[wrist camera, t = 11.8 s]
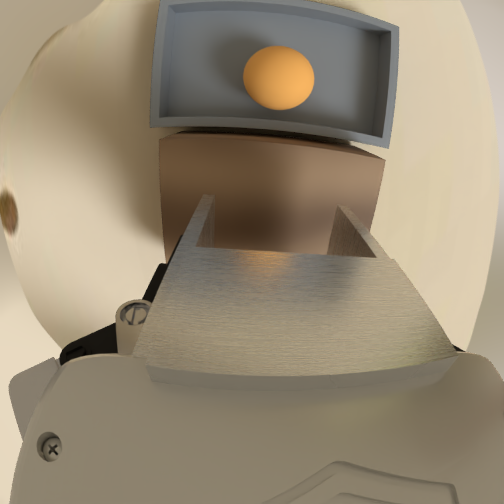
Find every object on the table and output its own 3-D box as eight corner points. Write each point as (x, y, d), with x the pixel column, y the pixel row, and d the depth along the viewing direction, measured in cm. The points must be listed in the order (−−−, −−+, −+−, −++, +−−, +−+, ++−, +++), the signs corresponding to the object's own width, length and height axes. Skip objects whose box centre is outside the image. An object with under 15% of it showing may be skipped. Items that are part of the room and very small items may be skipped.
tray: (373, 143, 17) (388, 148, 15) (161, 124, 16) (149, 127, 14) (383, 33, 13) (399, 26, 10) (170, 9, 12) (160, -1, 10)
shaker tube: (322, 305, 15) (360, 461, 7) (205, 300, 14) (177, 466, 7) (349, 195, 11) (473, 352, 4) (203, 183, 11) (115, 358, 3)
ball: (305, 75, 15) (306, 124, 15) (245, 68, 15) (240, 118, 15) (320, 38, 11) (324, 92, 11) (246, 29, 11) (240, 83, 11)
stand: (330, 266, 22) (346, 305, 18) (184, 257, 22) (170, 296, 17) (354, 146, 17) (385, 160, 13) (182, 131, 17) (159, 139, 12)
